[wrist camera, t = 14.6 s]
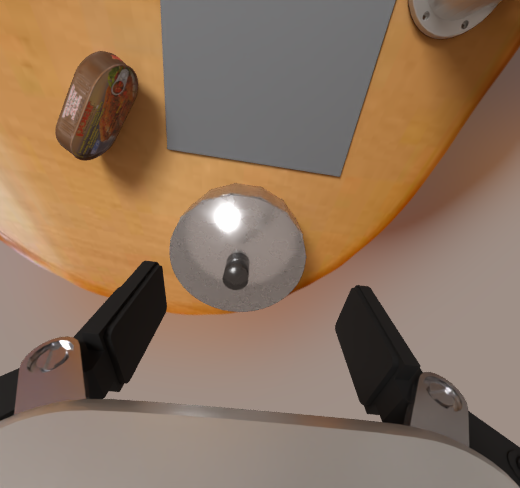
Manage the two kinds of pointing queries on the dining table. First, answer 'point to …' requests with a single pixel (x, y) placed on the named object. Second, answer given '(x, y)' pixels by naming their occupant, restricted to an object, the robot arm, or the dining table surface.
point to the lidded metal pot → (238, 249)
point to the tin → (96, 105)
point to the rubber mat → (269, 77)
